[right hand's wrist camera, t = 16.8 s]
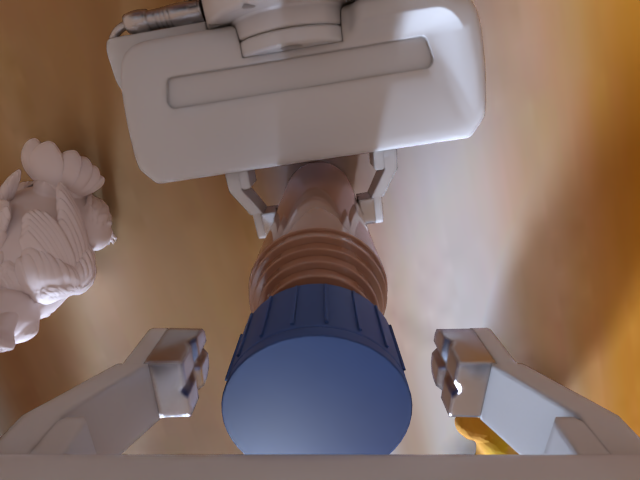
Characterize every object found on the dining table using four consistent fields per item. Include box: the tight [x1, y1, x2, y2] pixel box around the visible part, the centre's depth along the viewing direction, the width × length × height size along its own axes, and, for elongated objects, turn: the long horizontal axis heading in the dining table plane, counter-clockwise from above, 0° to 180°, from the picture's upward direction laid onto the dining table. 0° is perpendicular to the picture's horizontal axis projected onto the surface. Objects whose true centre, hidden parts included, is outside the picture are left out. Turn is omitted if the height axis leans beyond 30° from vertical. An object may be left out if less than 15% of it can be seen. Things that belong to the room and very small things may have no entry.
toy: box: [455, 417, 519, 455], centre depth 35 cm, size 11×6×15 cm
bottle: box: [249, 162, 388, 315], centre depth 19 cm, size 5×5×21 cm
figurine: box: [0, 138, 117, 352], centre depth 23 cm, size 8×15×13 cm, turn 162°
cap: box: [222, 284, 412, 455], centre depth 9 cm, size 4×5×2 cm
